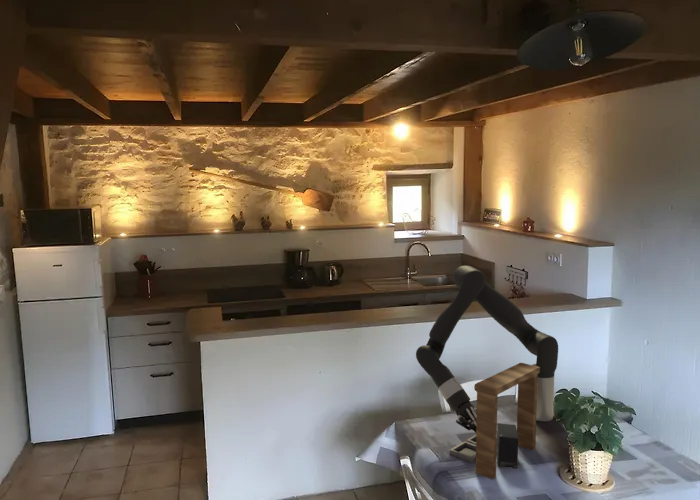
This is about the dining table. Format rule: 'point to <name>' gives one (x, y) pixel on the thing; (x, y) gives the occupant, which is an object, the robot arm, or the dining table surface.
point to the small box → (507, 445)
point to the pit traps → (466, 450)
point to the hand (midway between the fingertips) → (483, 437)
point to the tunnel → (488, 413)
